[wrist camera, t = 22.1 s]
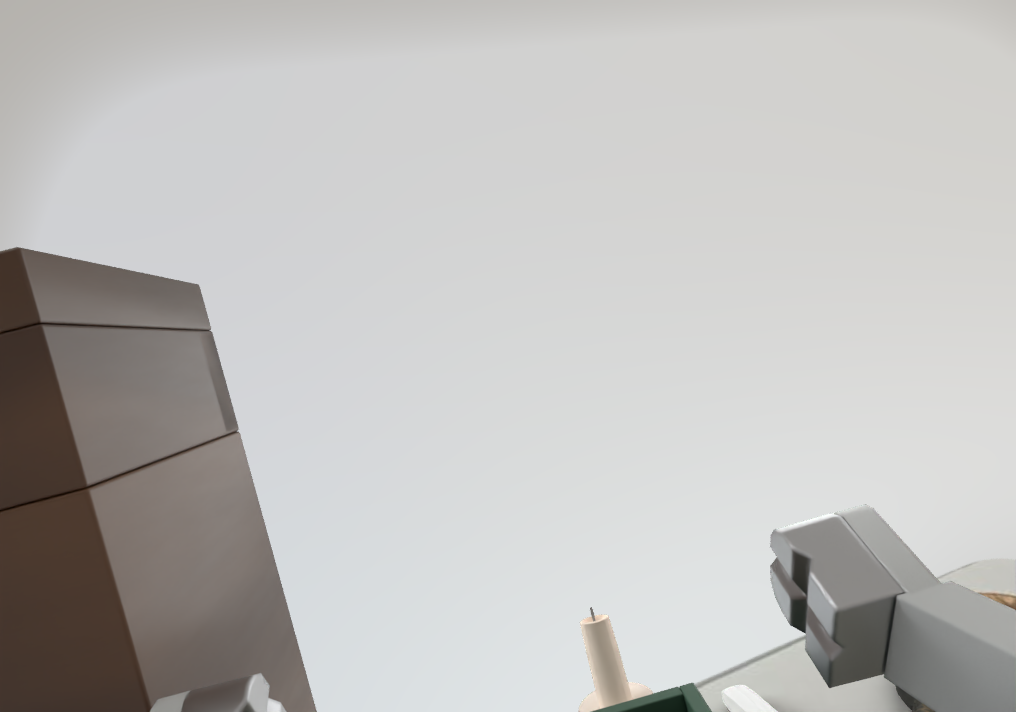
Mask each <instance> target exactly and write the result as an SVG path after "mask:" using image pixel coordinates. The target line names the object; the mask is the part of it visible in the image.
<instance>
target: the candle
mask: <svg viewBox="0 0 1016 712" xmlns="http://www.w3.org/2000/svg"><path fill="white" fill-rule="evenodd" d="M590 610H591V615H592V617H589V618H586V619H583V620H582V621H581V622H580V625H581V630H582V634H583V639H584V644H585V648H586V653H587V657H588V661H589V665H590V669H591V673H592V678H593V681H594V686H595V691H594V692H592V693H590V694H589V695H588V696H587V697H586V698H585V699H584V700H583V701H582V703H581V704H580V706H579V712H591V711H595V710H598V709H602V708H605V707H609V706H612V705H616V704H619V703H623V702H626V701H630V700H633V699H637V698H640V697H644V696H647V695H650V694H653V692H652V691H651V690H650V689H649V688H648V687H647V686H644V685H642V684H638V683H633V682H628V681H627V677H626V674H625V671H624V667H623V663H622V660H621V656H620V652H619V649H618V645H617V642H616V639H615V636H614V632H613V629H612V626H611V623H610V619H609V616H608V615H596V616H594V613H593V610H592V607H591V608H590Z"/></svg>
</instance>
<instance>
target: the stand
mask: <svg viewBox="0 0 1016 712" xmlns="http://www.w3.org/2000/svg"><path fill="white" fill-rule="evenodd" d="M210 330H211V326H210V323H209V319H208V316H207V312H206V308H205V305H204V301H203V297H202V294H201V290H200V287H199V285H198V284H192V283H188V282H183V281H179V280H173V279H168V278H164V277H159V276H154V275H150V274H144V273H140V272H135V271H130V270H125V269H121V268H116V267H111V266H106V265H101V264H96V263H91V262H87V261H82V260H76V259H72V258H67V257H62V256H58V255H53V254H48V253H43V252H38V251H34V250H29V249H24V248H18V247H16V248H12V249H8V250H4V251H0V712H150V710H151V709H152V707H153V706H154V704H155V703H156V701H157V700H158V699H161V698H164V697H168V696H172V695H176V694H179V693H183V692H187V691H191V690H195V689H199V688H203V687H207V686H211V685H215V684H219V683H223V682H227V681H231V680H235V679H239V678H243V677H247V676H251V675H255V674H259V673H261V674H262V675H263V677H264V678H265V680H266V681H267V682H268V684H269V685H270V688H269V696H268V698H270V699H273V700H276V701H278V702H281V704H282V705H283V707H284V709H285V710H286V712H317V711H316V708H315V704H314V701H313V697H312V693H311V690H310V686H309V683H308V679H307V675H306V671H305V668H304V664H303V661H302V657H301V653H300V650H299V646H298V643H297V639H296V635H295V632H294V628H293V625H292V621H291V617H290V613H289V610H288V606H287V603H286V599H285V596H284V592H283V588H282V584H281V581H280V577H279V574H278V570H277V567H276V563H275V559H274V555H273V552H272V548H271V545H270V541H269V538H268V534H267V530H266V526H265V523H264V519H263V516H262V512H261V508H260V505H259V501H258V497H257V494H256V490H255V487H254V483H253V479H252V476H251V472H250V468H249V465H248V462H247V458H246V454H245V450H244V447H243V443H242V439H241V436H240V433H239V432H237V430H238V424H237V421H236V417H235V413H234V410H233V406H232V403H231V399H230V395H229V392H228V388H227V384H226V381H225V377H224V374H223V370H222V367H221V363H220V359H219V356H218V352H217V348H216V345H215V341H214V337H213V334H212V332H211V331H210Z"/></svg>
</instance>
